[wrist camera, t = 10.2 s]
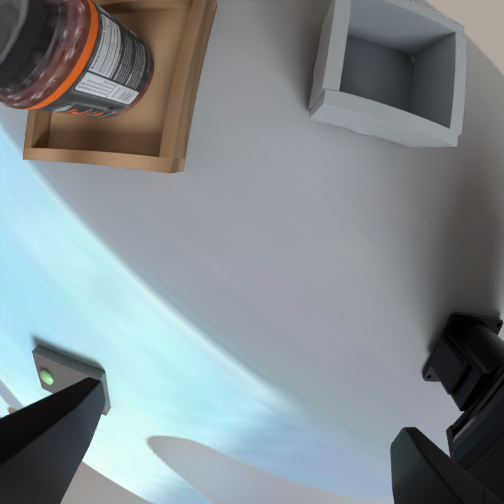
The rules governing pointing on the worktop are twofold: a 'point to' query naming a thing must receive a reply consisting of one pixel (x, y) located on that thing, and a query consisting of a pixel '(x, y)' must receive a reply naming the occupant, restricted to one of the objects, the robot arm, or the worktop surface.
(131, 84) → the supplement bottle
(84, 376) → the pad
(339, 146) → the worktop surface
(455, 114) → the grey open square bin
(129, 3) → the tray
